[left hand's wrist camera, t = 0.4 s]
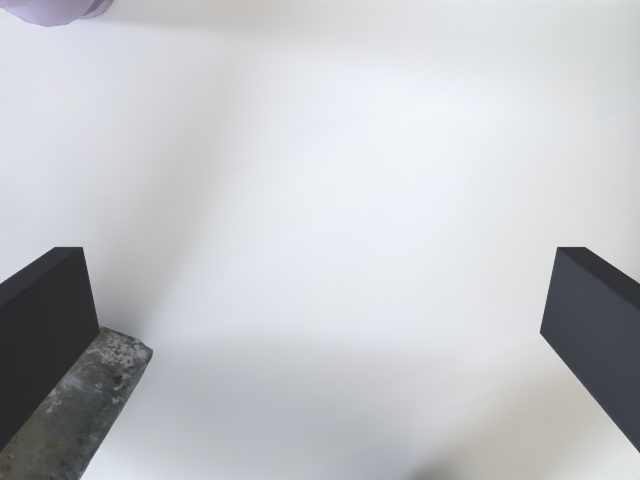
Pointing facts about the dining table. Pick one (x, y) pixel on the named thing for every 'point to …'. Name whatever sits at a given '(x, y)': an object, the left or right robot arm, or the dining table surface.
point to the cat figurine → (54, 10)
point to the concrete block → (77, 411)
